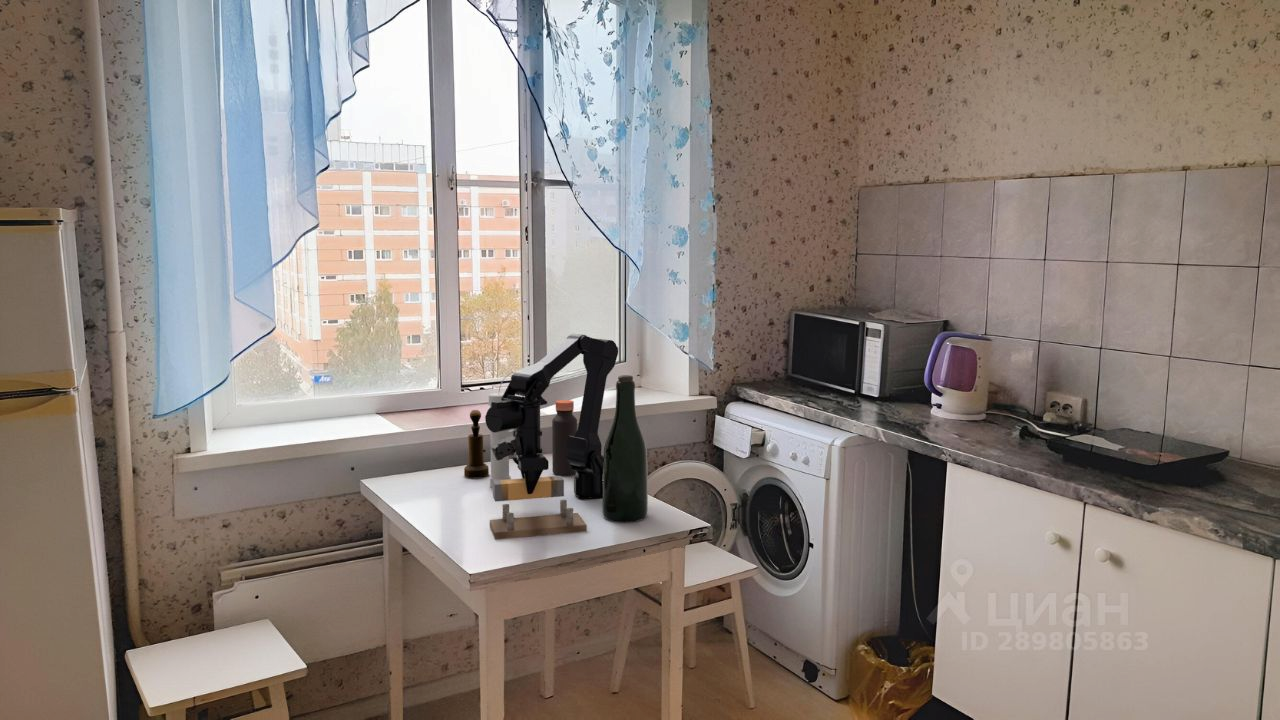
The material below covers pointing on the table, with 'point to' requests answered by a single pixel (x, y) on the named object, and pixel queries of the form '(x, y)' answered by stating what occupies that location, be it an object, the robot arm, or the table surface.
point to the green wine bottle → (625, 460)
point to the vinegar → (562, 436)
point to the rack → (537, 523)
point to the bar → (518, 490)
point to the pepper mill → (476, 450)
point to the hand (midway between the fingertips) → (528, 491)
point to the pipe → (497, 467)
